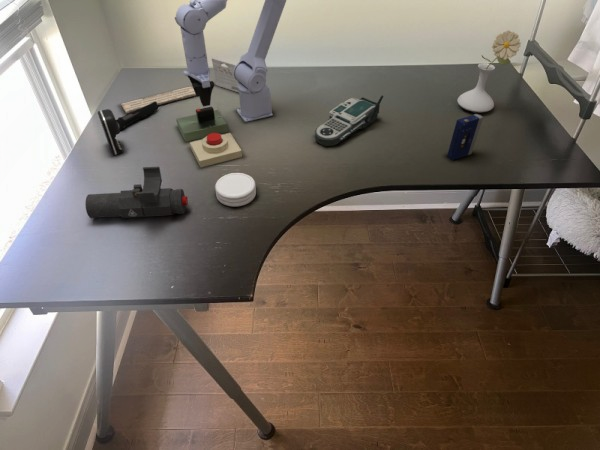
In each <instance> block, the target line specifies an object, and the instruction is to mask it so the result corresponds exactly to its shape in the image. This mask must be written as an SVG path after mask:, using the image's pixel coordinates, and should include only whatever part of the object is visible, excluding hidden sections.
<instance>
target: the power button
mask: <svg viewBox="0 0 600 450" xmlns="http://www.w3.org/2000/svg"><path fill="white" fill-rule="evenodd" d="M221 135H222V134H218V133H211V134H209V135H208V136H207V143H208V145H211V146H215V145H219V144H221V143H222V138H221Z"/></svg>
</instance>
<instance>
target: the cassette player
mask: <svg viewBox="0 0 600 450" xmlns="http://www.w3.org/2000/svg"><path fill="white" fill-rule="evenodd" d="M483 119H484V116H482V115H481V114H478V113H474V114H471V115H468V116H465V117H461V118H458V119H456V122H455V125H454V129H453V133H452V136H451V140H450V144H449V147H448V150H447V154H446V158H448V159H449V160H451V161H454V160H455V161H456V160H458V159H461V158H463V157H467V156H469V155H472V154H473V150H474V148H475V144H476V141H477V139H478V136H479V131H480V129H481V127H482V123H483Z"/></svg>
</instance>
